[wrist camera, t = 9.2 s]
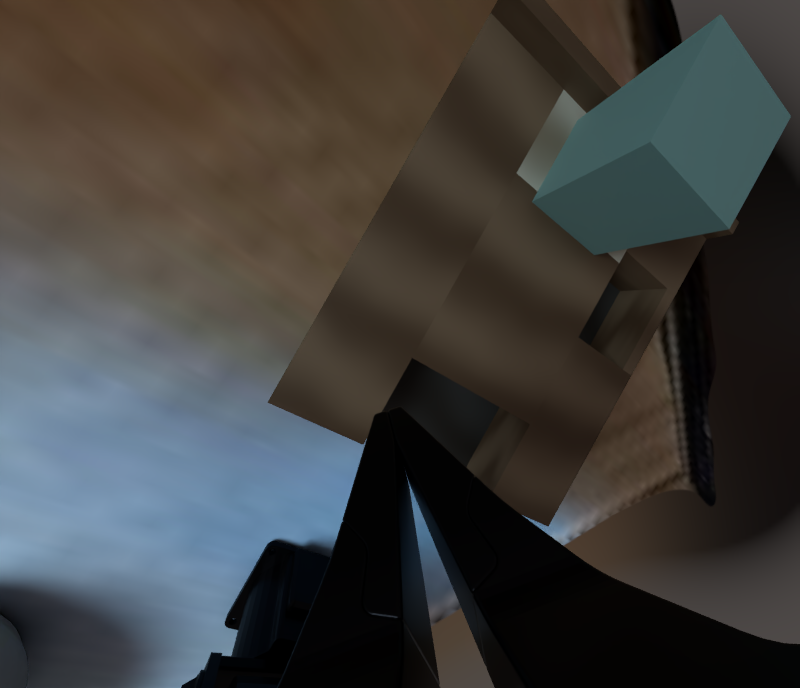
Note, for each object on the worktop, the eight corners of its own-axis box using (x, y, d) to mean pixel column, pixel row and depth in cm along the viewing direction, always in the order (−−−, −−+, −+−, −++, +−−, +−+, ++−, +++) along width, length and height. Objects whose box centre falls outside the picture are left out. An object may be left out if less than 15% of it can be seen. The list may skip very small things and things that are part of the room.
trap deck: (515, 493, 26) (563, 541, 21) (278, 383, 20) (262, 412, 15) (655, 239, 26) (738, 222, 21) (466, 55, 20) (516, -32, 15)
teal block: (594, 255, 20) (729, 229, 13) (531, 201, 19) (650, 141, 12) (635, 179, 20) (791, 116, 14) (577, 120, 19) (721, 14, 12)
